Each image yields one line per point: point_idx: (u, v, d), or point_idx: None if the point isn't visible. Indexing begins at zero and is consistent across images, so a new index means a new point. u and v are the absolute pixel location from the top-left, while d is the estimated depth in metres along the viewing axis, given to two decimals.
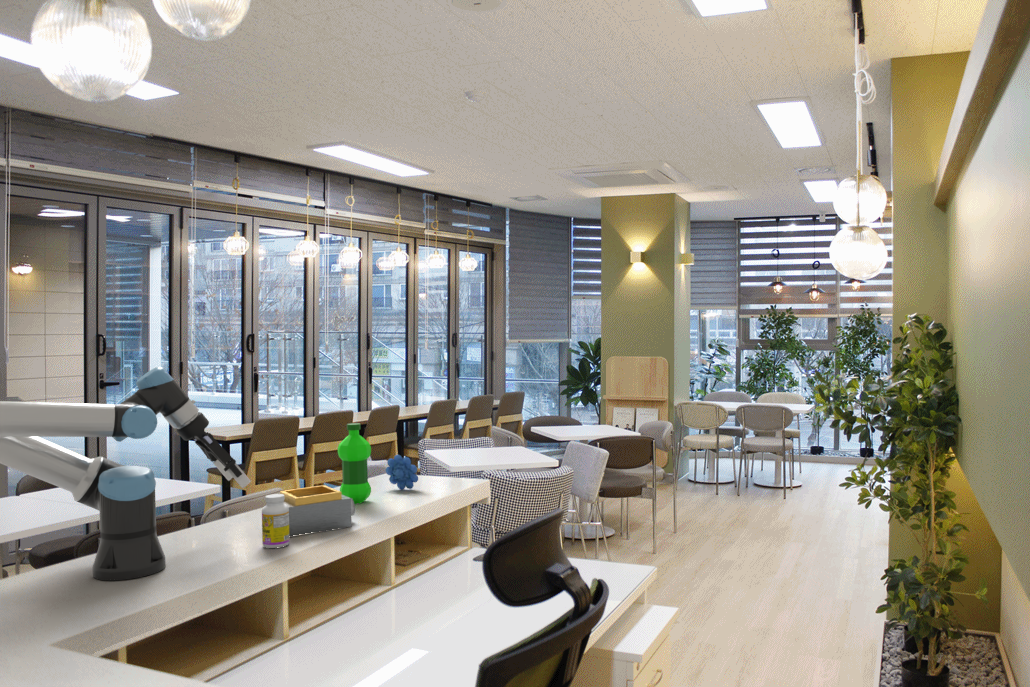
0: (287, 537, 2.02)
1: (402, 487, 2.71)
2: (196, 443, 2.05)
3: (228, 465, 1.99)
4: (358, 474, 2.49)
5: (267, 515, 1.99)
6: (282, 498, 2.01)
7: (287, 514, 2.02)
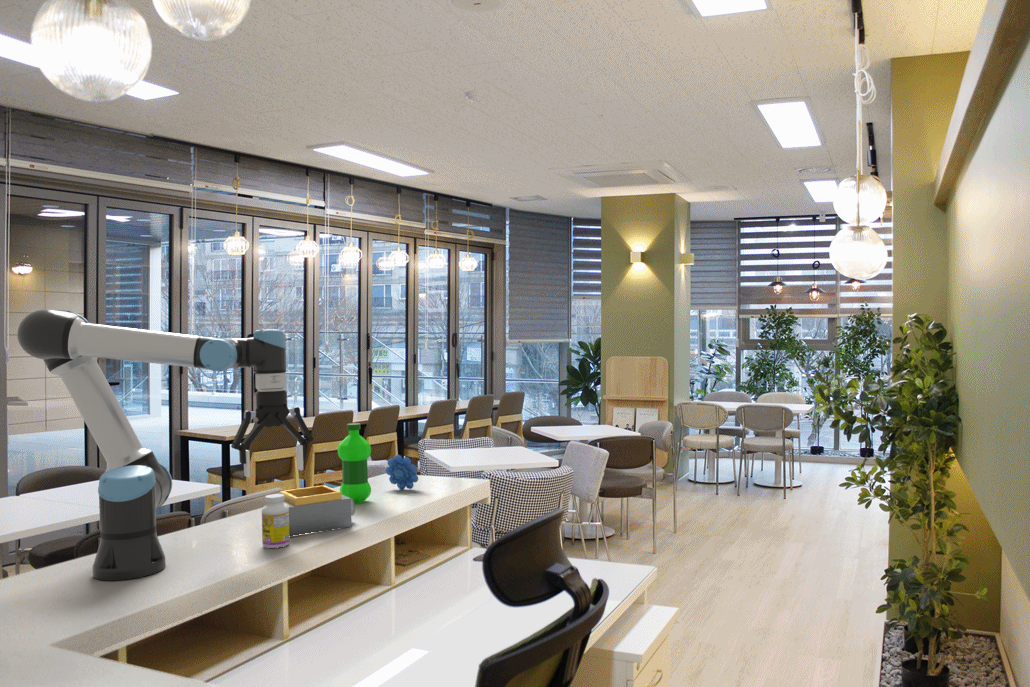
0: (287, 537, 2.02)
1: (402, 487, 2.71)
2: None
3: (231, 445, 1.97)
4: (358, 474, 2.49)
5: (267, 515, 1.99)
6: (282, 498, 2.01)
7: (287, 514, 2.02)
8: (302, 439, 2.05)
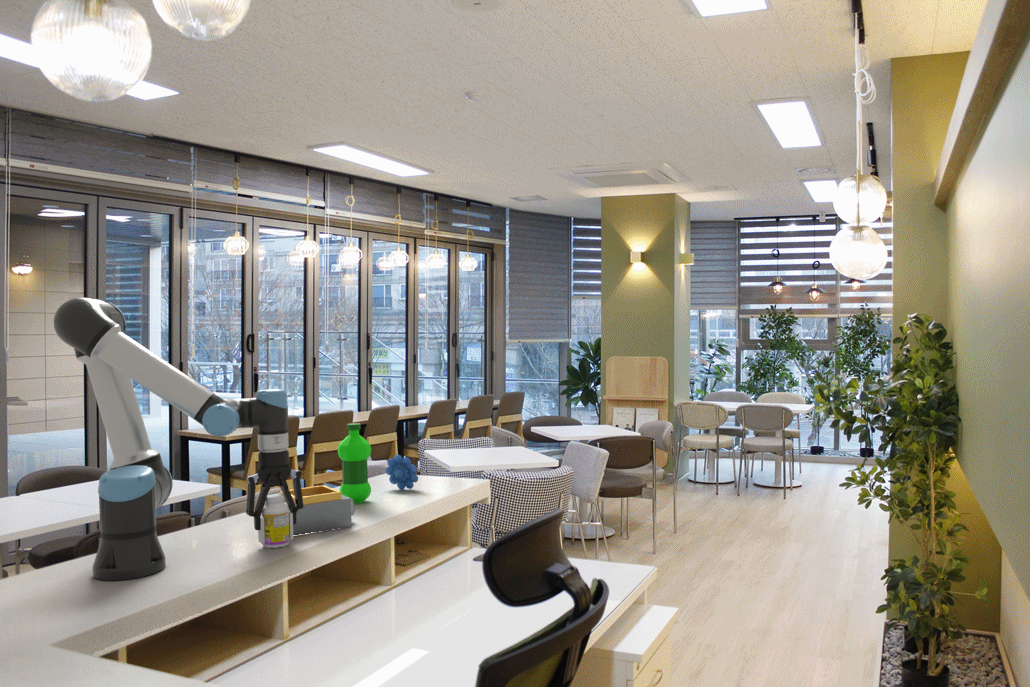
0: (287, 537, 2.02)
1: (402, 487, 2.71)
2: None
3: (246, 512, 1.99)
4: (358, 474, 2.49)
5: (267, 514, 1.99)
6: (282, 498, 2.01)
7: (287, 514, 2.02)
8: (293, 506, 2.04)
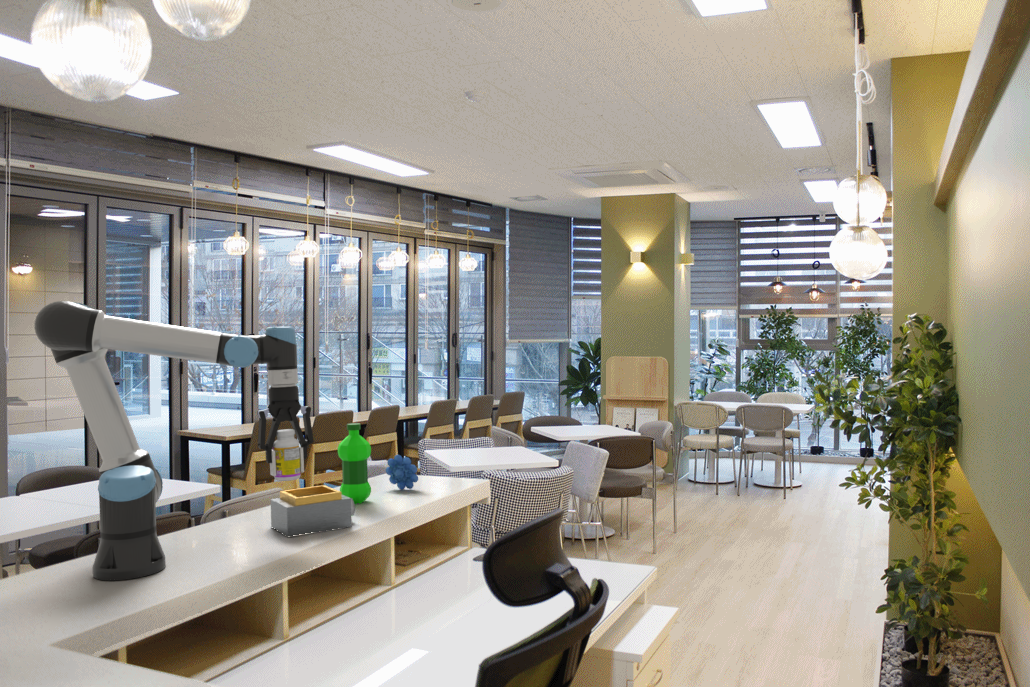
0: (298, 470, 2.07)
1: (402, 487, 2.71)
2: None
3: (258, 445, 2.04)
4: (358, 474, 2.49)
5: (278, 448, 2.04)
6: (292, 432, 2.06)
7: (297, 448, 2.07)
8: (303, 441, 2.09)
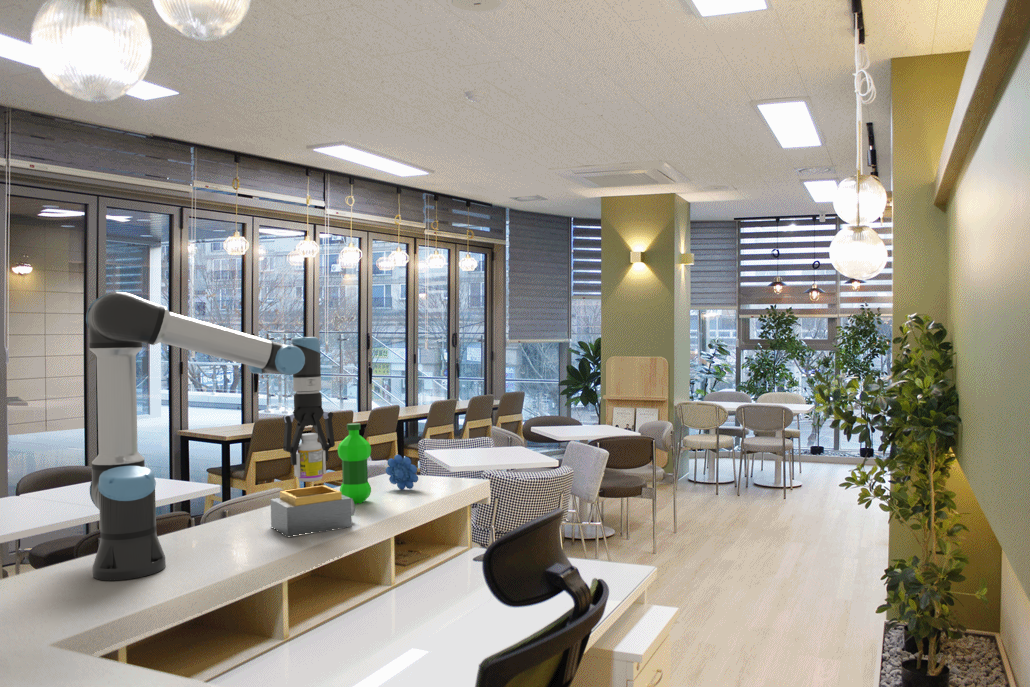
0: (320, 472, 2.20)
1: (402, 487, 2.71)
2: None
3: (283, 448, 2.18)
4: (358, 474, 2.49)
5: (302, 450, 2.18)
6: (316, 436, 2.20)
7: (320, 451, 2.20)
8: (326, 444, 2.22)
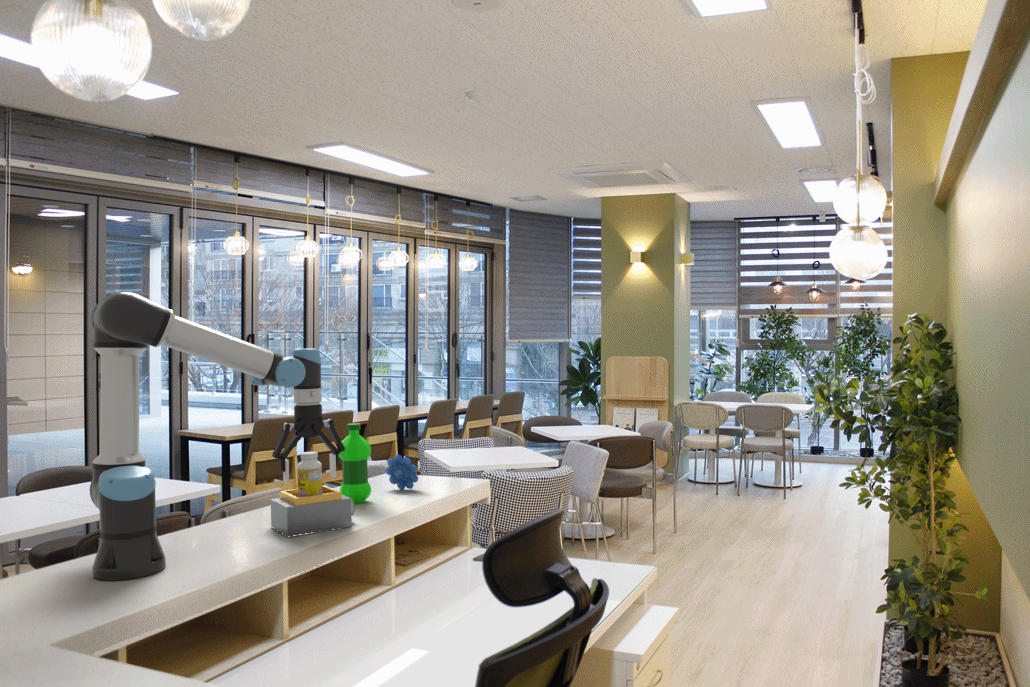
0: (320, 490, 2.20)
1: (402, 487, 2.71)
2: None
3: (272, 455, 2.16)
4: (358, 474, 2.49)
5: (302, 469, 2.18)
6: (316, 455, 2.20)
7: (320, 469, 2.20)
8: (335, 449, 2.24)
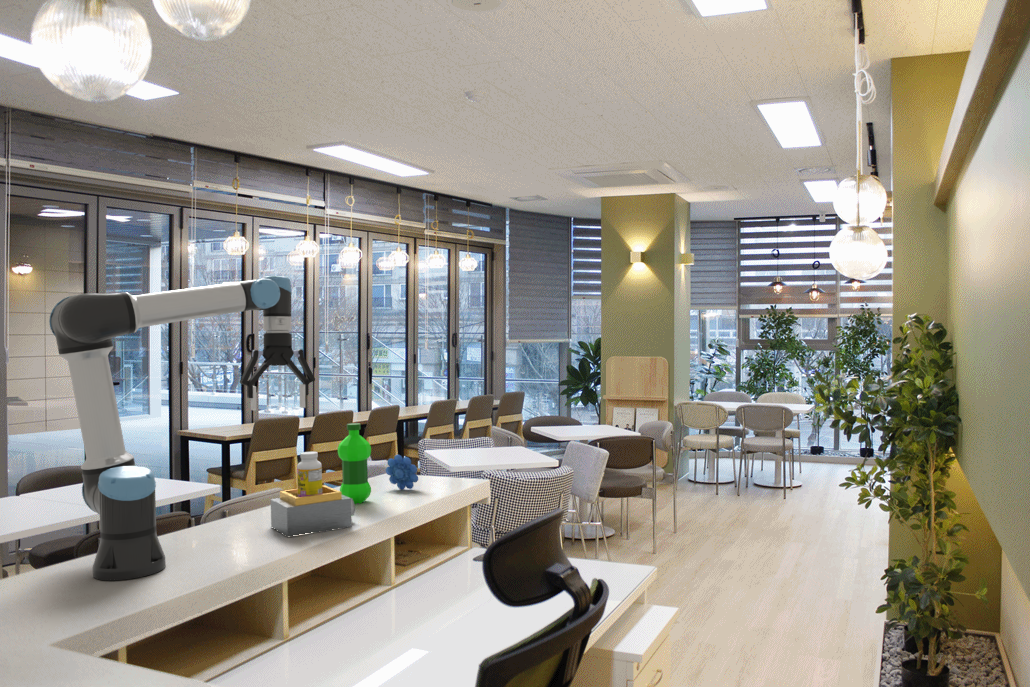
0: (320, 490, 2.20)
1: (402, 487, 2.71)
2: None
3: (240, 381, 2.15)
4: (358, 474, 2.49)
5: (302, 469, 2.18)
6: (316, 455, 2.20)
7: (320, 469, 2.20)
8: (305, 379, 2.23)
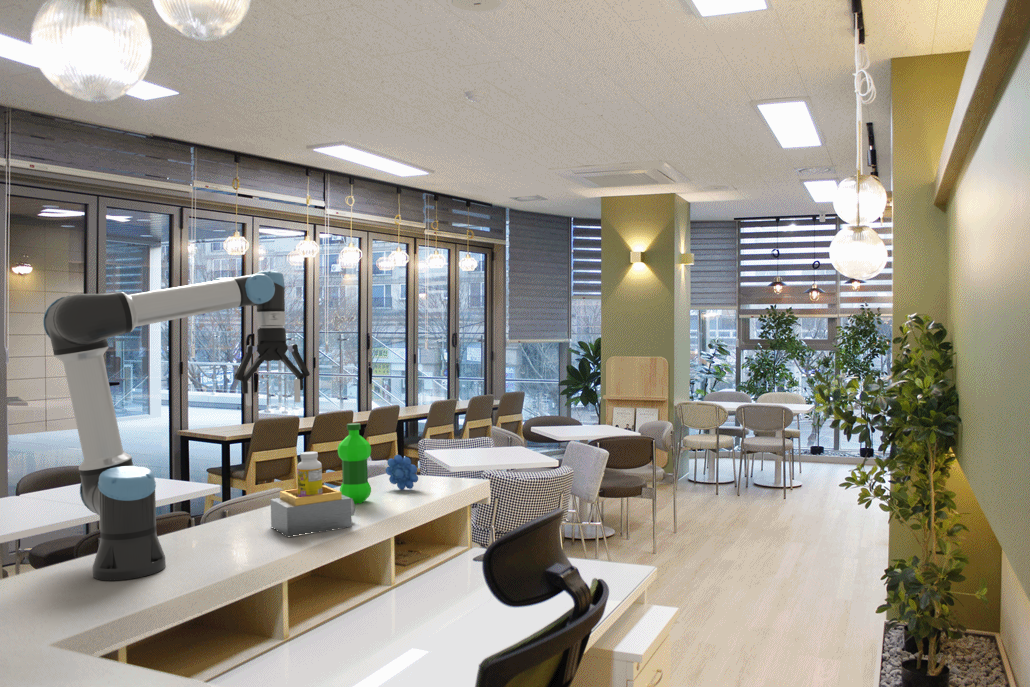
0: (320, 490, 2.20)
1: (402, 487, 2.71)
2: None
3: (235, 377, 2.15)
4: (358, 474, 2.49)
5: (302, 469, 2.18)
6: (316, 455, 2.20)
7: (320, 469, 2.20)
8: (299, 374, 2.23)
